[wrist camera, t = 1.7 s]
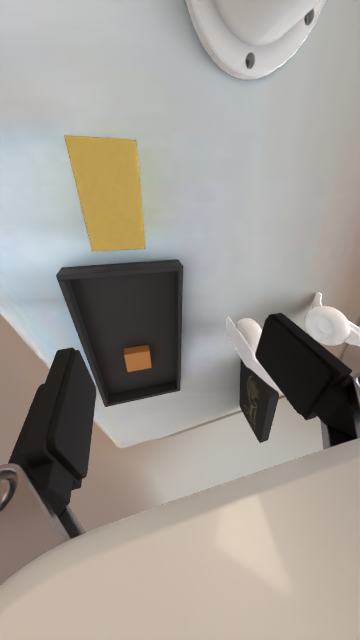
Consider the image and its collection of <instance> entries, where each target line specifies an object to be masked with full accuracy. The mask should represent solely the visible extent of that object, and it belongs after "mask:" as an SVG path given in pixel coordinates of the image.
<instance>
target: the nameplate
mask: <svg viewBox="0 0 360 640" xmlns="http://www.w3.org/2000/svg"><path fill="white" fill-rule="evenodd" d="M278 398H279V394H278V391H276V390H275V389H274V388H272V387H271V386H270V385H268V384H267V383H266V382H265V381H264V380H263V379H261V378H260V377H259V376H258V375H257V374H256V373H255V372H254V371H253V370H251V369H250V368H248V367H246V365H245V364H244V362H243V361H242V359H241V369H240V408H241V410H242V412H243V413H244V415H245V417H246V419H247V421H248V423H249V424H250V426H251V428H252V430H253V432H254V434H255V435H256V437H257V439H258V441H259V442H260V443H261V442H264V441H267V440H268V438H269V433H270V430H271V426H272V421H273V418H274V414H275V410H276V406H277V402H278Z"/></svg>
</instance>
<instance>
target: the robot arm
mask: <svg viewBox="0 0 360 640" xmlns="http://www.w3.org/2000/svg"><path fill="white" fill-rule="evenodd" d="M185 1H186V5H187V8H188V11H189V14H190V18H191V21H192V24H193V26H194V29H195V31H196V33H197V35H198V37H199V40H200V42H201V44H202V46H203V47H204V49H205V50H206V52H207V53H208V55H209V56H210V58H211V59H212V60H213V61H214V62H215V63H216V64H217V65H218V66H219V67H220V68H221V69H222V70H223V71H224V72H226V73H228V74H230V75H231V76H233V77H235V78H240V79H244V80H251V79H259V78H261V77H264V76H266V75H268V74H270V73H272V72H273V71H275V70H276V69H278V68H279V67H280V66H282V65H283V64H284V63H285V62H286V61H287V60H288V59H290V58H291V57H292V56H293V55H294V54H295V52H296V51H297V50H298V49H299V47H300V46H301V45H302V44H303V42H304V41H305V40H306V38H307V36H308V35H309V33H310V31H311V30H312V28H313V27H314V25H315V23H316V21H317V19H318V16H319V14H320V12H321V10H322V8H323V6H324V3H325V1H326V0H185ZM246 63H247V66H246ZM255 356H256V359H257V360H258V362H259V363H260V364H261V366H262V367H263V368H264V370H265V371H266V372H267V374H268V375H269V376H270V377H271V379H272V380H273V381H274V383H275V384H276V385H277V387H278V388H279V389H280V391H281V392H282V393H283V394H284V396H285V397H286V398H287V400H288V401H289V402H290V404H291V405H292V406H293V408H294V409H295V410H296V411H297V412H298V413H299V414H301V415H302V416H303V417H304V419H305V420H309V419H312V418H315V417H316V416H318V417H319V418H320V420H321V428H322V438H323V449H324V450H321V451H318V452H315V453H312V454H309V455H306V456H303V457H300V458H297V459H294V460H291V461H288V462H285V463H282V464H279V465H276V466H274V467H270V468H268V469H264V470H262V471H259V472H256V473H253V474H250V475H247V476H244V477H241V478H238V479H235V480H232V481H229V482H226V483H223V484H220V485H217V486H215V487H212V488H209V489H206V490H203V491H200V492H197V493H194V494H192V495H189V496H186V497H183V498H180V499H177V500H174V501H171V502H168V503H165V504H162V505H160V506H157V507H154V508H151V509H148V510H145V511H143V512H140V513H137V514H134V515H132V516H129V517H126V518H123V519H121V520H118V521H115V522H112V523H110V524H107V525H104V526H102V527H99V528H96V529H94V530H91V531H89V532H87V533H86V531H85V530H84V528H83V527H82V526H81V524H80V523H79V521H78V519H77V518H76V516H75V515H74V514H73V512H72V511H71V509H70V507H69V506H68V504H69V503H70V497H71V490H74V489H78V488H80V487H81V482H82V478H85V477H86V475H87V470H88V460H89V452H90V443H91V435H92V426H93V417H94V408H95V399H96V387H95V385H94V383H93V380H92V378H91V376H90V374H89V371H88V369H87V367H86V365H85V362H84V360H83V358H82V356H81V353H80V351H79V350H75V349H74V348H67V349H61V350H58V351H57V352H56V355H55V358H54V360H53V363H52V366H51V368H50V372H49V374H48V377H47V379H46V382H45V384H42V385H40V386H39V388H38V390H37V392H36V394H35V397H34V399H33V402H32V404H31V407H30V409H29V413H28V415H27V417H26V420H25V422H24V425H23V427H22V430H21V432H20V435H19V437H18V440H17V442H16V445H15V447H14V450H13V452H12V455H11V458H10V460H9V462H8V464H4V465H1V466H0V640H360V373H357V374H355V375H354V376H353V377H351V376H350V375H349V374H350V373H351V372H352V370H351V369H350V368H349V367H347V366H346V365H345V364H344V363H342V362H341V361H340V360H339V359H338V358H336V357H335V356H334V355H333V354H331V353H330V352H329V351H328V350H327V349H325V348H324V347H323V346H322V345H320V344H319V343H318V342H317V341H316V340H314V339H313V338H312V337H311V336H309V335H308V334H307V333H306V332H305V331H303V330H302V329H301V328H300V327H298V326H297V325H296V324H295V323H294V322H292V321H291V320H290V319H289V318H287V317H286V316H285V315H284V314H282V313H277V314H271V315H269V316H268V318H267V319H266V320H265V323H264V327H263V330H262V333H261V336H260V340H259V343H258V346H257V349H256V352H255Z"/></svg>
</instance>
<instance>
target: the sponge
mask: <svg viewBox="0 0 360 640" xmlns="http://www.w3.org/2000/svg"><path fill="white" fill-rule="evenodd" d="M64 137H65V141H66V145H67V149H68V153H69V158H70V162H71V166H72V170H73V174H74V178H75V182H76V186H77V191H78V195H79V199H80V203H81V207H82V211H83V215H84V220H85V224H86V228H87V232H88V236H89V240H90V244H91V248H92V251H111V250H130V249H145V248H146V247H145V236H144V224H143V212H142V201H141V189H140V178H139V166H138V154H137V143H136V140H130V139H114V138H99V137H84V136H68V135H65V136H64Z"/></svg>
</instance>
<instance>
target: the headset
mask: <svg viewBox="0 0 360 640" xmlns="http://www.w3.org/2000/svg"><path fill="white" fill-rule="evenodd" d="M321 299H322V294H321V293H316V296H315V298H314V301H313V304H312V309H311V310H310V311H309V312H308V313H307V315H306V317H305V326H306V329H307V331H308V333H309V334H310V335H311V337H313V338H314V339H315V340H316V341H318V342H320V343H322V344H325V345H339V344H341V343H343V342H346V343H348V344H351V345H358V346H359V347H360V328H359V327H358V326H356V325H355V324H353V323H351V322H349V321H348V320H347V319H346V317H345V316H344V315H343V314H342V313H341V312H340V311H338V310H336V309H334V308H332V307H328V306H323V305H322V304H321ZM226 327H227V334H228V337H229V338H230V340H231V342H232V344H233V345H234V347H235V349H236V350H237V352H238V354H239V356H240V357H241V359H242V361H243V362H244V364H245V365H246V367H248V368H250V369H251V370H253V371H254V372H255V373H256V374H257V375H258V376H259V377H260V378H261V379H263V380H264V381H265V382H266V383H267V384H268V385H270V386H271V387H272V388H274V389H275V390H276V391H278V392H279V393H281V394H282V395H284V394H283V393H282V392H281V391H280V389H279V388H278V387H277V385H276V384H275V383H274V381H273V380H272V379H271V377H270V376H269V375H268V374H267V372H266V371H265V370H264V368H263V367H262V366H261V364H260V363H259V362H258V360H257V359H256V356H255V352H256V349H257V346H258V343H259V340H260V336H261V333H262V330H261V328H260V326H259V325H258V324H257V323H256V322H255V321H254V320H252V319H249V318H243V319H241V320H239V321H238V322H237V324H236V326H235V324H234V323H233V322H232V320H231V319H230V318H229V317H227V324H226Z"/></svg>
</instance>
